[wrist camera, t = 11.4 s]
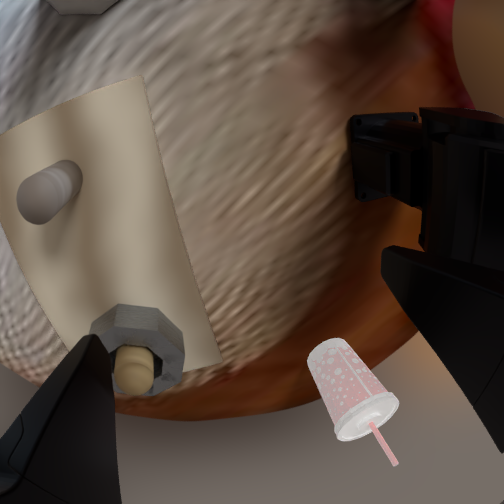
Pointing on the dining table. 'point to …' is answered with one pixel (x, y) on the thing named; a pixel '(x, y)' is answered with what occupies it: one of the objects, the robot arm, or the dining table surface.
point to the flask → (81, 6)
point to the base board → (101, 224)
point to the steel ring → (144, 341)
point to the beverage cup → (351, 392)
